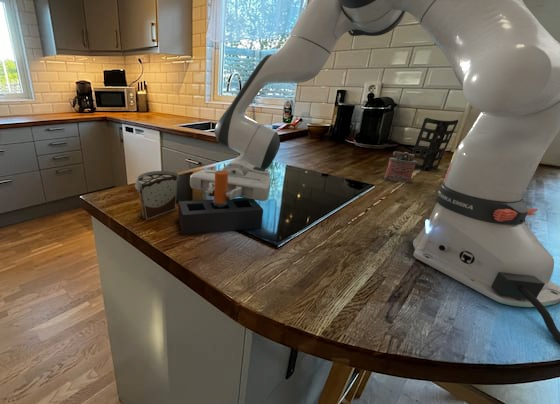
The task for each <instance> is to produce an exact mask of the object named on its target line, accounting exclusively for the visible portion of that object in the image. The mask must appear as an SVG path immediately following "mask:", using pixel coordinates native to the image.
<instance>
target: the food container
mask: <svg viewBox="0 0 560 404" xmlns="http://www.w3.org/2000/svg"><path fill="white" fill-rule="evenodd" d="M179 181H180V176H179V173H178V172H176V171H170V170H153V171H147V172H144V173H141V174H139V175H137V177H136V180H135V184H134V185H135V186H134V188H135V189H136V191H138V196H139V200H140V208H141V213H142V218H143V219H145V220H146V221H148V220H150V219H151V220H152V219H153V218H156V217H159V216H162V215H165V214H167V213H170V212H173V211H176V208H177V195H178V194H177V193H178V182H179Z"/></svg>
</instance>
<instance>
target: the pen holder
mask: <svg viewBox="0 0 560 404" xmlns="http://www.w3.org/2000/svg"><path fill="white" fill-rule="evenodd" d="M213 208H214V199H201V200H200V199H199V200H198V199H197V200H183V201H180V200H179V201H178V202H177V212H178V213H177V214H178V219H177V220H178V223H179V227H180V230H181V233H182V236H183V235H194V234H195V235H196V234H206V233H219V232H231V231H233V232H234V231H245V230H259V229H262V224H263V215H264V208H263V207H262V206H261V205H260V204H259V203H258V202H257V200H254V199H248V198H242V197H237V198H233V199H232V200H229V199H227V202H226V209H213Z"/></svg>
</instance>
